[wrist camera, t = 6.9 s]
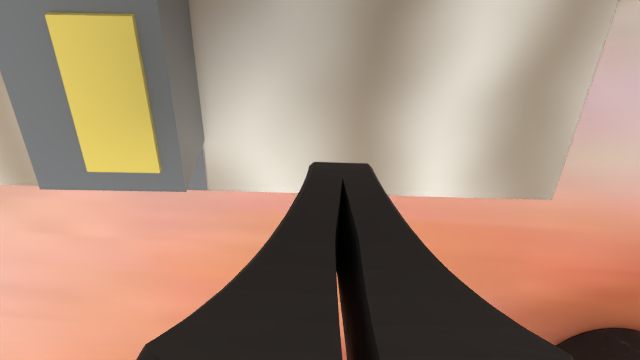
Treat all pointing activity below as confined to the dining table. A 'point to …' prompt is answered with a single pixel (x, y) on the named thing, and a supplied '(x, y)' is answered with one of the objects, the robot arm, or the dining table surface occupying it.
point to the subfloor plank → (384, 93)
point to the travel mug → (604, 345)
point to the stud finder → (104, 92)
